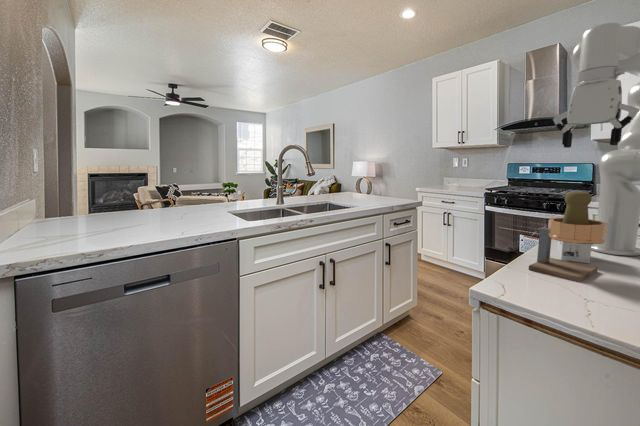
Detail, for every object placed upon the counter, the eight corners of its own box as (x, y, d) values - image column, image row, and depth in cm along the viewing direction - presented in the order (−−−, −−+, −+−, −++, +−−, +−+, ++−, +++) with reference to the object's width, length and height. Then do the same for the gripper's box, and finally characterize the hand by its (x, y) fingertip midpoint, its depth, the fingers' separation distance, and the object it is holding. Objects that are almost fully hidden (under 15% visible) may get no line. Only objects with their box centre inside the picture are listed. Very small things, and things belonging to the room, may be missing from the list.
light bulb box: (590, 264, 87) (594, 226, 85) (560, 260, 90) (563, 224, 89) (583, 254, 96) (587, 220, 94) (556, 251, 99) (559, 218, 98)
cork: (595, 237, 75) (600, 192, 74) (567, 237, 77) (571, 192, 75) (580, 232, 81) (584, 190, 80) (554, 231, 82) (558, 190, 81)
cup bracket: (547, 261, 90) (552, 215, 87) (607, 273, 79) (613, 221, 77) (528, 269, 83) (532, 220, 81) (590, 284, 72) (597, 227, 70)
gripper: (648, 71, 75) (638, 144, 77) (562, 87, 89) (556, 148, 91) (639, 66, 71) (630, 143, 73) (551, 84, 85) (545, 148, 87)
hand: (589, 146), depth 82 cm, fingers open, 9 cm apart
